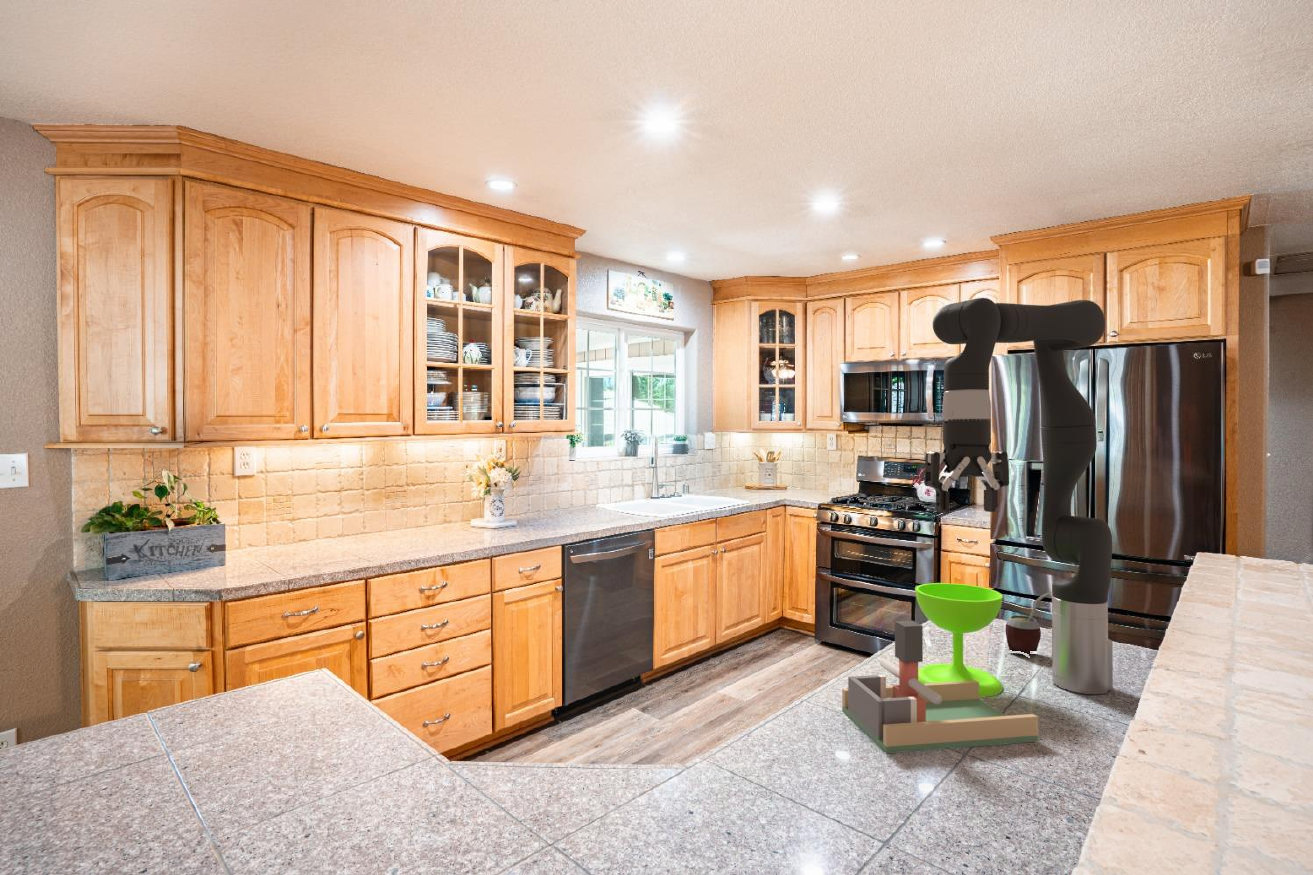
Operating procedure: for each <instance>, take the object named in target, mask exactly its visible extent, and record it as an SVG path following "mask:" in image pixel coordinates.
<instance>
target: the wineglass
mask: <svg viewBox="0 0 1313 875" xmlns="http://www.w3.org/2000/svg"><path fill="white" fill-rule="evenodd" d="M914 590H915V591H914V592H915V596H916V597H915V598H916V602H917V603H918V607H919V608H920V610H921V612H922V613H923V615H925V617H926V618H927V619H928V620H929V621H930V622H932V623H933V624H934V625H935V626H937V627H938V628H941V629H943V630H944V631H948V632H951V633H952V662H951V663H936V664H928V665H925V666H923V667H920V668H918V681H920V682H921V683H923V684H925V683H941V682H957V681H974V680H976V681H977V682H979V698H985V697H986V696H989V697H993V696H997V695H998V693H999V694H1001V693H1002V692H1003V690H1004V687H1003V684H1002V682H1001V681H1000V679H998V678H997V677H996V676H995V675H993V674H990V672H986V671H984V670H982V669H979V668H976V667H971V666H967V665H965V664H964V634H968V633H970V634H971V633H975V632H978V631H980V630H983V629H984V628H986V627H989V625H990V624H992V623H993V621H994V620H995V619H997V617H998V614H999V612H1000V611H1001V608H1002V604H1003V603H1002V602H1003V595H1002V593H1000V592H999V591H997V590H994V589H991V588H987V587H983V586H977V585H971V584H965V583H964V584H963V583H951V582H935V583H933V582H931V583H924V584H920V585H919V584H918V585H917V586H915V587H914ZM1002 689H1003V690H1002ZM1001 691H1002V692H1001ZM1000 692H1001V693H1000ZM982 696H983V697H982ZM986 698H987V697H986Z"/></svg>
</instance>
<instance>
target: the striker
mask: <svg viewBox="0 0 1313 875" xmlns="http://www.w3.org/2000/svg"><path fill="white" fill-rule="evenodd" d="M923 628H924V627H923V624H920V623H918V622H916V621H914V620H897V621H896V620H895V621H894V657H895V658H897V659H898V661H899V662H898V664H899V665H898V666H897V665H896V664H894V663H893V662H892V661H890V660H889V659H887V658H881V659H880V661H879V665H880V666H881V668H883V669H885V670H886V671H887V672H888V673H890V674H892V675H893V676H894V677H896V678H897V679H898V682H899V684H895V685H893V698H901V697H914V698H916V699H917V722H926V700H924V699H923V698H921V697H920V696H919V695H918V692H919V693H920V694H921V695H923V696H924V697H926V698H927V699H928V700H930V701H931V702H933V703H934V704H936V705H938V704H940V703H941V702H942V697H941V695H939V694H938V693H936V692H935V691H933V690H932V689H930V688H929V687H927V686H926V685H924V684H923V683H921V682H920V681H918V670H919V663H923V662H924V661H923V659H924V657H923V655H924V654H923V653H924V652H923V649H924V648H923V645H924V644H923V641H924V640H923V638H924V637H923V636H924V635H923V634H924V633H923V632H924V631H923Z"/></svg>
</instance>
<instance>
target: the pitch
mask: <svg viewBox="0 0 1313 875" xmlns="http://www.w3.org/2000/svg"><path fill="white" fill-rule="evenodd" d="M847 680H848V682H847V683H848V686H847V688H845V687H844V688H842V689H841V694H842V695H841V697H842V699H841V702H842V704H841V705H842V706H841V707H842V708H841V709H842V710H841V711H842V712H843V713H844V715H846V716H847V717H848V718H849V719H850V720H851V721H852V722H853V723H854V724H855V725H857V727H858V728H859V729H861V730H862V732H864V734H866V736H868V737H869V738H870V739H871V740H872V741H873V742H874V743H875V744H876V745H877V746H878V747H879V748H880V749H882V751H883V752H884V753H885V754H892V753H894V754H895V753H906V752H919V751H933V750H944V749H945V750H946V749H959V748H971V747H982V746H983V747H985V746H997V745H999V746H1000V745H1009V744H1020V743H1022V744H1023V743H1035V742H1036V743H1037V742H1039V716H1038V715H1036V714H1035V713H1029V714H1016V715H1015V714H1013V715H1006V714H1004V713H1003V712H1001V711H1000V710H998V709H996V708H995V707H993V706H992V705H990V704H988V703H987V702H985V701H983V700H982V699H981V698H980V697H979V682H977V681H976V680H974V681H957V682H941V683H925V684H924V685H926V686H927V687H929V688H930V689H932V690H933V691H935V692H936V693H938V694H939V695H941V697H942V702H941V703H940V704H938V705H936V704H934V703H933V702H931V701H930V700H928V699H927V698H926V697H924V696H923V695H921V694H920V693H919V692H918V695H919V696H920V697H921V698H923V699H924V700H926V722H917V699H916V698H914V697H901V698H893V685H887V676H886V675H884V674H872V675H853V676H848V677H847Z"/></svg>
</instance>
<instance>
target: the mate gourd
mask: <svg viewBox="0 0 1313 875" xmlns="http://www.w3.org/2000/svg"><path fill="white" fill-rule="evenodd" d="M1050 594H1052V591H1049V592H1047V593H1044V594H1042V595H1041V596H1038V598H1037V599H1036V600H1035V602H1034V605H1033V608H1032V610H1031V612H1030V615H1029V616H1026V615H1025V616H1024V615H1011V616H1010V617H1009V618H1008V619H1007V620H1006V622H1005V623H1006V624H1005V630H1004V631H1005V636H1006V643H1007V647H1008V651H1010V650H1012V651H1021V652H1024V653H1027V654H1030V651H1037V652H1038V647H1039V644H1040V642H1041V638H1042V637H1041V636H1042V633H1041V632H1042V631H1041V626H1040V623H1039V622H1038V621H1037V619H1035V618H1034V615H1035V613H1036V610H1037V608H1038V606H1039V605H1040V603H1041V600H1043V599H1044V598H1046V597H1048V596H1049V595H1050Z"/></svg>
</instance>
